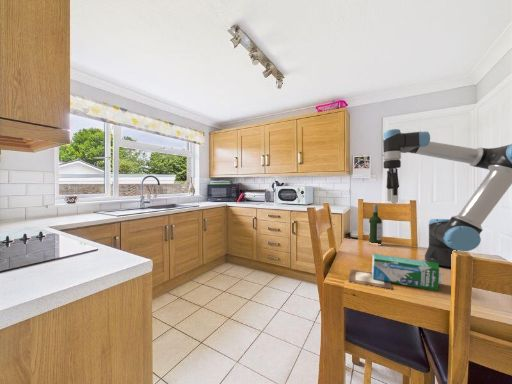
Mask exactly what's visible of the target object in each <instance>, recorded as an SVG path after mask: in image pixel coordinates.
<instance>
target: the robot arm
mask: <svg viewBox="0 0 512 384" xmlns="http://www.w3.org/2000/svg"><path fill="white" fill-rule="evenodd" d="M382 143H383V144H382V145H383V146H382V147H383V154H382V155H381V156H382V157H383V168H384V169H388V170H386V189H387V190H386V193H387V194H386V195H387V197H386V199H387V200H386V201H387V202H391V203H399V187H400V182H399V173H398V171H399V169H400V168H401V167H402V164H401V163H402V161H401V159H402V154H406V153H408V154H409V153H410V154H416V155H420V156H427V157H432V158H435V159H436V158H437V159H443V160H449V161H454V162H458V163H459V162H460V163H465V164H469V166H471V167H473V168H474V167H476V168H479V169H485V170H489V172H488V174H487V175H486V176H485V177H484V179H483V180H482V182H481V183H480V184H479V186H478V187H477V188H476V190H475V191H474V193H473V194H472V195H471V197H470V198H469V200H468V201H467V203H466V204H465V205H463V206H464V207H463V208H462V209H461V211H460V212H459V213H458V215H452V216H451V217H450V219H448V218H445V219H444V218H431V219H429V220H428V247H427V249H426V251H425V254H424V261H427V262H434V263H439V266H442V267H451V254H452V251H453V250H456V251H458V252H459V251H460V252H469V251H472V250H474V249H476V248H478V246H479V245H480V243H481V240H482V239H481V233H482V232H483V230H484V229H483V227H482V224H483V223H484V221H485V220H486V219H487V218H488V216H489V215H490V214H491V212H492V211H493V210H494V208H495V207H496V206H497V204H499V202H500V200H501V199H502V198H503V196H504V195H505V193H506V192H508V190H509V189H510V187H511V186H512V143H511V144H507V145H502V146H499V147H490V148H487V147H477V148H473V147H467V146H460V145H453V144H448V143H441V142H435V141H431V135H430V133H429V131H421V130H419V131H413V132H404V133H402V132H401V129H399V128H392V129H388V130H386V131H384V133H383V139H382Z"/></svg>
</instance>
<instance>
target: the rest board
mask: <svg viewBox="0 0 512 384" xmlns="http://www.w3.org/2000/svg"><path fill="white" fill-rule="evenodd" d="M351 282H354V283H353V284H357V283H359V284H358V285H362V284H365V285H364V286H368V285H370V286H369V287H373V286H375V288H379V287H381V288H380V289H385V288H386V289H385V290H390V289H391V290H393V286H392V283H391V282H386V281H381V280H376V279H373V276H372V271H366V270H358V269H352V268H350V271H349V278H348V283H351Z"/></svg>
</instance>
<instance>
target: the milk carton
mask: <svg viewBox="0 0 512 384" xmlns="http://www.w3.org/2000/svg"><path fill="white" fill-rule="evenodd" d="M371 260H372V264H371V272H372V276H373V279H376V280H381V281H386V282H390V283H391V284H398V285H403V286H408V287H414V288H419V289H424V290H430V291H435V292H438V291H439V284H441V285H442V284H443V275H444V274H443V273H440V265H439V263H434V262H428V261H426V260H420V259H419V260H418V259H413V258H406V257H400V256H390V255H384V254H378V253H372V259H371Z"/></svg>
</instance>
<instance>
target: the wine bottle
mask: <svg viewBox="0 0 512 384" xmlns="http://www.w3.org/2000/svg"><path fill="white" fill-rule="evenodd" d="M378 207H379V206H378V204H373V207H372V208H373V211H372V216H371V217H370V218H369V219H368V233H369V234H368V243H369V242H371V243H378V244H381V243H382V236H383V235H382V233H383V232H382V231H383V230H382V229H383V227H382V226H383V224H382V223H383V222H382V219H381V217H380V216H379V213H378V212H379V211H378Z"/></svg>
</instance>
